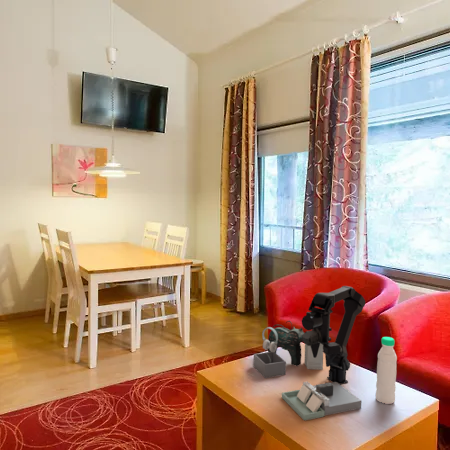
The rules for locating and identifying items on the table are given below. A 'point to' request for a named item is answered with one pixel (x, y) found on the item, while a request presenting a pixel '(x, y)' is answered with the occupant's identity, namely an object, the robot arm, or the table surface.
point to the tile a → (304, 394)
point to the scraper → (321, 391)
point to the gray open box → (266, 369)
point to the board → (340, 400)
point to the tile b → (314, 403)
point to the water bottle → (386, 372)
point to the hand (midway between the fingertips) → (321, 361)
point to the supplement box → (310, 360)
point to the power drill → (289, 342)
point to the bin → (301, 406)
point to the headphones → (267, 343)
